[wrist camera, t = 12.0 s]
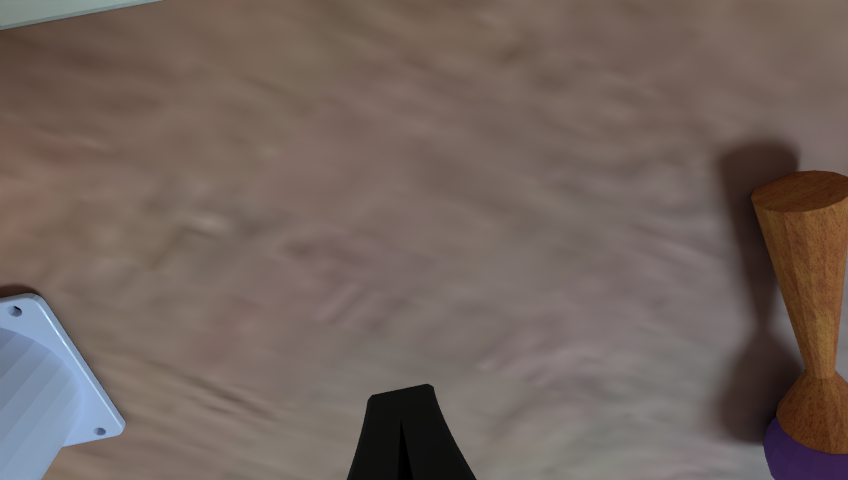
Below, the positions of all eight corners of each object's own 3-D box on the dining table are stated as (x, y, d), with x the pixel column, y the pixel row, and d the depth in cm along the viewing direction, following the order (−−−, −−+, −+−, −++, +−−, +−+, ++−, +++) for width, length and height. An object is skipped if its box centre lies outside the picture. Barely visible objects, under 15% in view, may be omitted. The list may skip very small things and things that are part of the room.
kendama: (948, 170, 17) (939, 508, 25) (790, 146, 23) (824, 430, 31) (812, 249, 17) (846, 568, 25) (684, 206, 22) (746, 479, 30)
